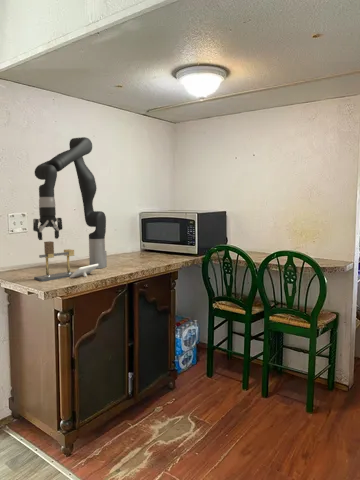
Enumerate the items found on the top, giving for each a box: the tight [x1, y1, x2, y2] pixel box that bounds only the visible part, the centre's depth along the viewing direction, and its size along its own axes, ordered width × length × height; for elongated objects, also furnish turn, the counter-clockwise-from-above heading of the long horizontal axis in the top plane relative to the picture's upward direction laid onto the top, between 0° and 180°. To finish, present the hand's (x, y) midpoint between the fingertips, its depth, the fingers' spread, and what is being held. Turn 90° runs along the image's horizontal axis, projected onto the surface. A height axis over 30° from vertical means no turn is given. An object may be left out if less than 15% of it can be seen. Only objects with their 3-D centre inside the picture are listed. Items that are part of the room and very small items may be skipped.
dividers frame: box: [38, 248, 75, 273], centre depth 189 cm, size 18×5×12 cm, turn 139°
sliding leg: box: [43, 240, 55, 275], centre depth 185 cm, size 3×5×17 cm, turn 49°
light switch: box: [69, 264, 98, 278], centre depth 195 cm, size 8×5×14 cm
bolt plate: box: [33, 271, 75, 282], centre depth 191 cm, size 20×8×2 cm, turn 139°
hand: (48, 239), depth 184 cm, fingers open, 8 cm apart
